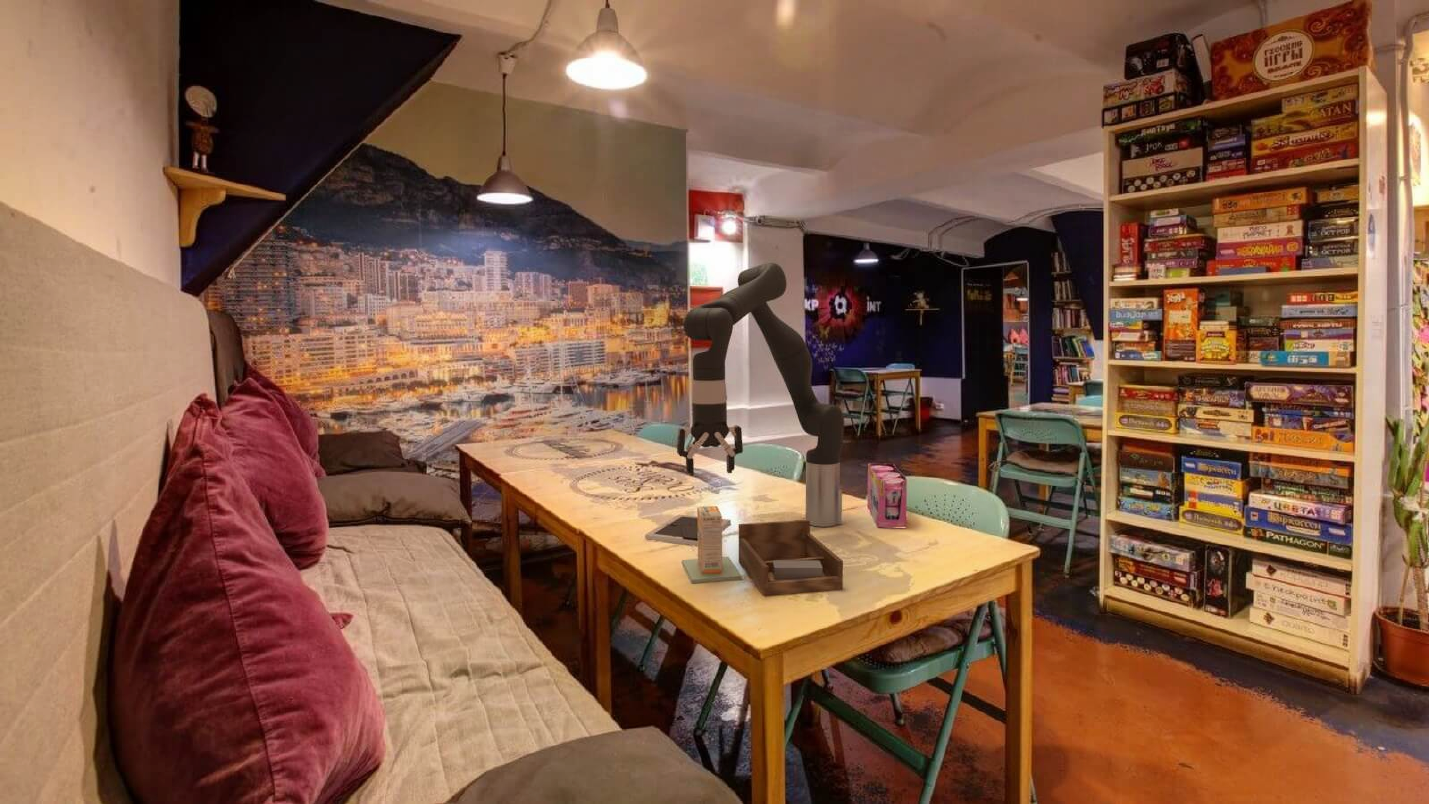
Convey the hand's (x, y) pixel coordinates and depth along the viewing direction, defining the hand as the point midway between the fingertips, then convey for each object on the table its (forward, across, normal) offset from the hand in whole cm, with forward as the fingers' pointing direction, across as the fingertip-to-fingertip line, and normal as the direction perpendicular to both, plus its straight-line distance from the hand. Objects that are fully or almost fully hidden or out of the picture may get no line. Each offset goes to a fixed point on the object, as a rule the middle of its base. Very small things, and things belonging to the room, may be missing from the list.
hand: (710, 473), depth 151 cm
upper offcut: (+20, -16, +12) cm, 28 cm away
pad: (+22, 0, 0) cm, 22 cm away
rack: (+22, -16, +6) cm, 28 cm away
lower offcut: (+23, -16, +12) cm, 30 cm away
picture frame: (+23, 0, -31) cm, 38 cm away
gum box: (+23, -58, -32) cm, 70 cm away
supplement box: (+22, 0, 0) cm, 22 cm away
